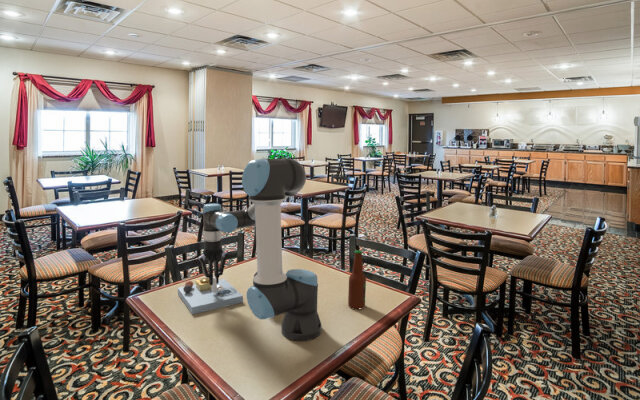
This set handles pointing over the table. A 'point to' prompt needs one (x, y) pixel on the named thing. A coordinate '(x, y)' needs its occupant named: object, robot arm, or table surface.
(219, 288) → the steel ball
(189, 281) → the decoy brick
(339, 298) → the table surface
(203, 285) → the yellow square block
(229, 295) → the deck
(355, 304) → the bottle
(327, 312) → the table surface
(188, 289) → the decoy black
